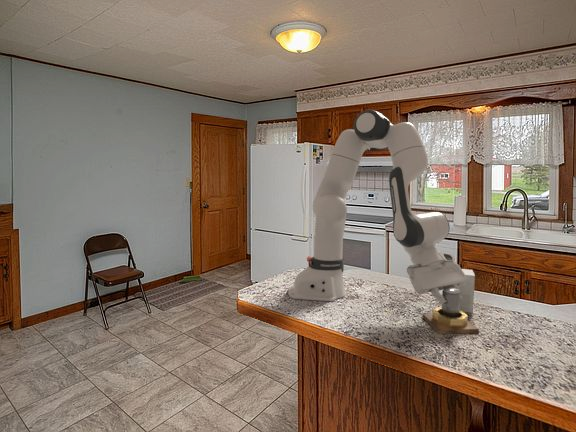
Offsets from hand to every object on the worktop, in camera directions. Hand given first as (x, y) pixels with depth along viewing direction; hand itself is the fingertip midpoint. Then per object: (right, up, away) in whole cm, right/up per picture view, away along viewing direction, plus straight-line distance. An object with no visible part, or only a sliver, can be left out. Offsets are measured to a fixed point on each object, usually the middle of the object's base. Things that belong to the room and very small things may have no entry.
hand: (452, 301), depth 110 cm
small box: (+10, -6, +15) cm, 20 cm away
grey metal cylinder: (0, -6, +1) cm, 6 cm away
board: (0, -8, +1) cm, 8 cm away
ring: (0, -6, +1) cm, 7 cm away
